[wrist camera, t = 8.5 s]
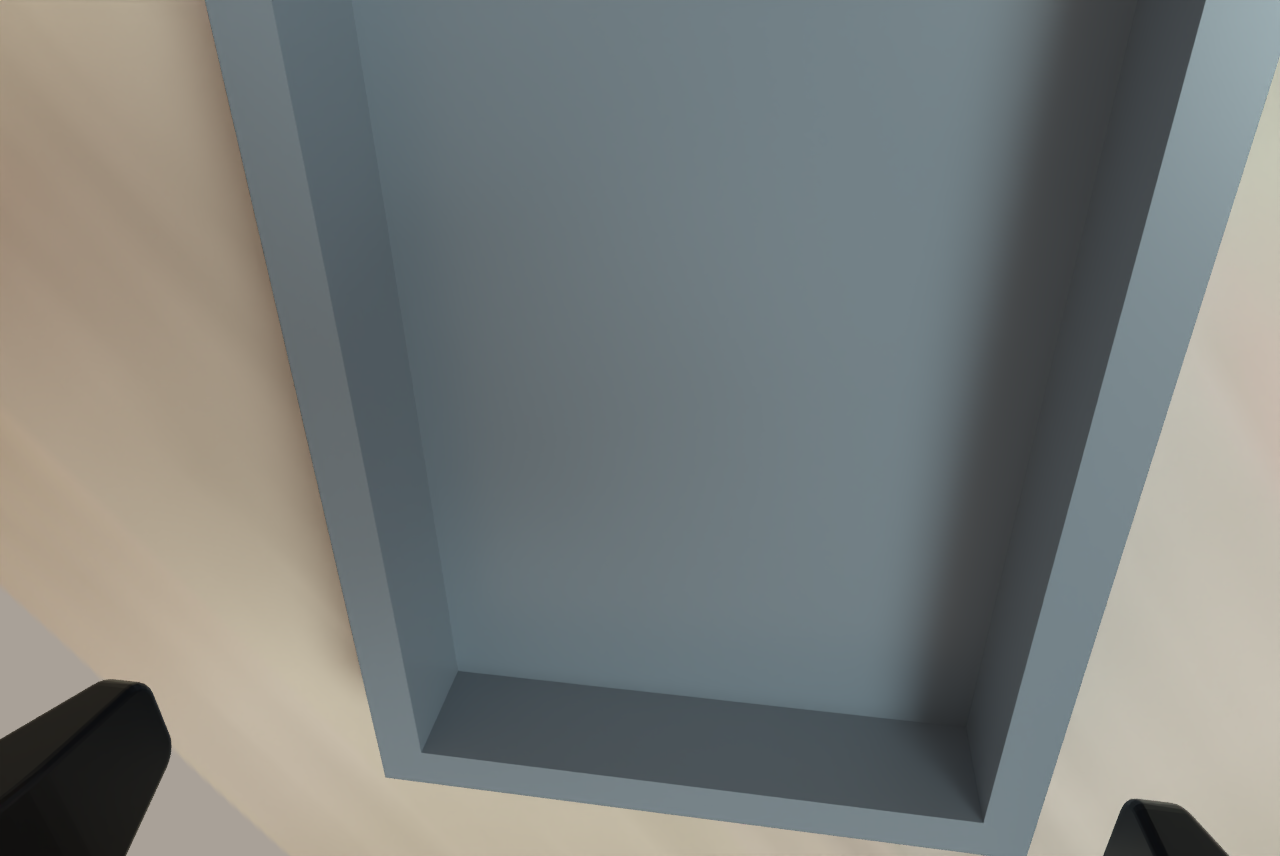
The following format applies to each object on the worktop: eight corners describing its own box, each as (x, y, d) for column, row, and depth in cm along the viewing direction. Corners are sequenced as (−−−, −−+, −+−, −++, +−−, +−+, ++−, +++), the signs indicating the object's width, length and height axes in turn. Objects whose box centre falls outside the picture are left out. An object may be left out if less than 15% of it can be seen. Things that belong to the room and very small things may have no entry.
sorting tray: (1000, 745, 22) (1025, 860, 19) (431, 680, 24) (385, 777, 21) (1323, -463, 11) (1476, -564, 8) (237, -392, 13) (98, -458, 11)
